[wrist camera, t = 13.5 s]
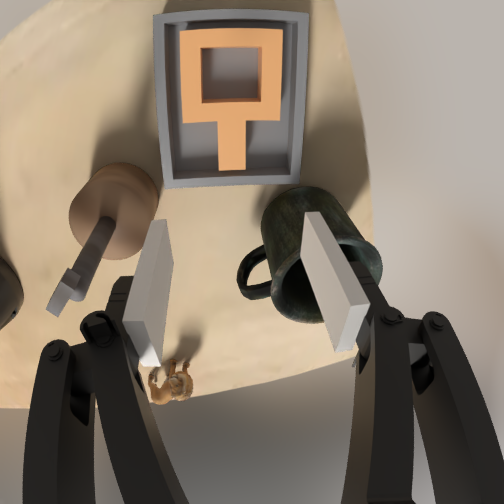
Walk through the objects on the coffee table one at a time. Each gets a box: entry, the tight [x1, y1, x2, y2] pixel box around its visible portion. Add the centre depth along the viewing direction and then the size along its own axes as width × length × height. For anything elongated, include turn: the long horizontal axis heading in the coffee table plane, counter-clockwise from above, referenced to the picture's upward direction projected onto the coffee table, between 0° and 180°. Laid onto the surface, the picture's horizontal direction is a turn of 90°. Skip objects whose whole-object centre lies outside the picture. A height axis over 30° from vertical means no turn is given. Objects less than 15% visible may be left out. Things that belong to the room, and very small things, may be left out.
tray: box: [153, 9, 309, 189], centre depth 27 cm, size 14×18×3 cm
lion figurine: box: [148, 359, 193, 404], centre depth 51 cm, size 15×5×9 cm, turn 143°
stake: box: [46, 163, 158, 317], centre depth 26 cm, size 9×9×18 cm
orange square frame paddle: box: [180, 28, 283, 171], centre depth 26 cm, size 14×9×3 cm, turn 179°
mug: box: [237, 187, 383, 324], centre depth 33 cm, size 11×15×12 cm
